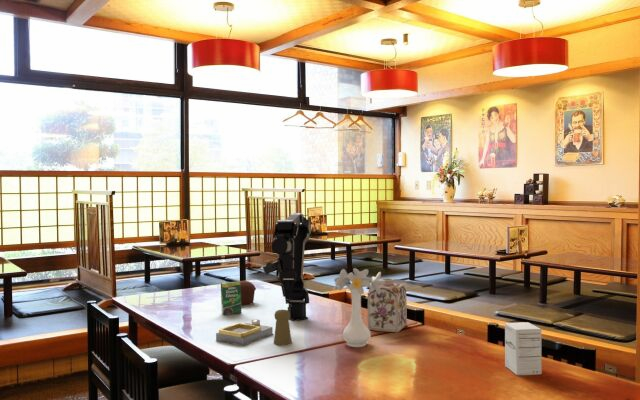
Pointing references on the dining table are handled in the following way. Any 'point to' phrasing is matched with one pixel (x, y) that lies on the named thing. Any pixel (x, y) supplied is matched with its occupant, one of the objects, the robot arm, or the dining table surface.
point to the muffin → (247, 292)
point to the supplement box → (523, 348)
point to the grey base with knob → (243, 333)
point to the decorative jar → (387, 307)
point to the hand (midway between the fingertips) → (285, 297)
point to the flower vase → (357, 304)
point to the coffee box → (231, 298)
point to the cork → (282, 328)
